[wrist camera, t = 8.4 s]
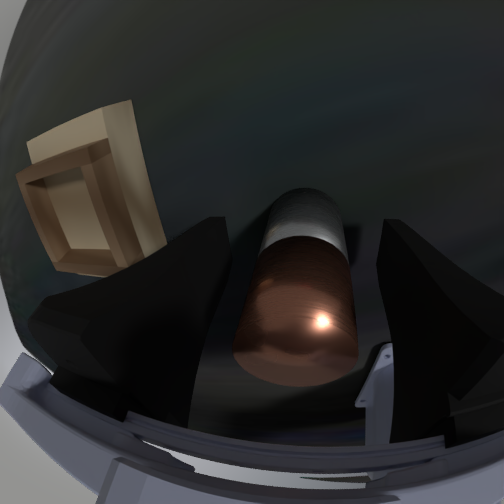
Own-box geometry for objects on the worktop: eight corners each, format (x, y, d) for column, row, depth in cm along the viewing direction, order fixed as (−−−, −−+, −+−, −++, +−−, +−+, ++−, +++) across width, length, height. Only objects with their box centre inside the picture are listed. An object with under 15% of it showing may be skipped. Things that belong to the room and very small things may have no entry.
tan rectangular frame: (171, 256, 14) (143, 299, 11) (95, 253, 15) (66, 287, 12) (131, 99, 9) (79, 114, 7) (53, 130, 10) (8, 151, 8)
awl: (338, 251, 12) (347, 387, 7) (271, 250, 12) (241, 381, 7) (342, 188, 10) (370, 319, 5) (266, 188, 11) (221, 313, 6)
